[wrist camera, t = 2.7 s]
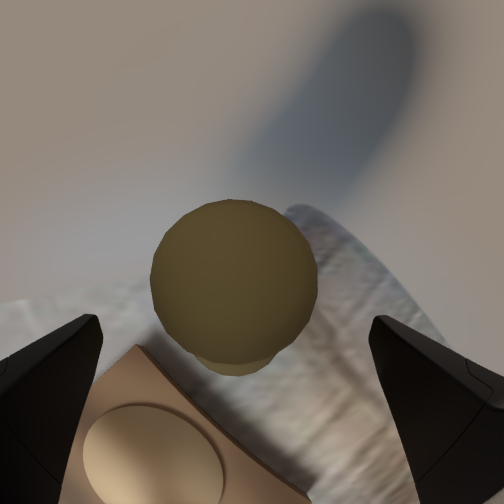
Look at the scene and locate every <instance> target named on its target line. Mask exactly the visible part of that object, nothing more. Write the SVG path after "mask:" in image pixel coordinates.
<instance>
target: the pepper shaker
mask: <svg viewBox="0 0 504 504" xmlns="http://www.w3.org/2000/svg"><path fill="white" fill-rule="evenodd" d="M150 285H151V292H152V298H153V304H154V310H155V312H156V314H157V316H158V317H159V319H160V321H161V323H162V325H163V327H164V329H165V330H166V332H167V333H168V334H169V335H170V336H171V337H172V338H173V339H174V340H175V341H176V342H177V343H178V344H179V345H181V346H182V347H183V348H184V349H185V350H186V351H187V352H190V353H192V354H194V355H195V357H196V358H197V359H198V360H199V361H200V362H201V363H202V364H203V365H205V366H206V367H207V368H208V369H210V370H212V371H215V372H217V373H219V374H222V375H228V376H243V375H247V374H251V373H255V372H257V371H258V370H260V369H261V368H263V367H265V366H266V365H268V364H269V363H270V361H271V360H272V359H273V358H274V357H275V355H276V354H277V353H278V352H279V351H281V350H282V349H284V348H285V347H287V346H288V345H290V344H291V343H293V342H294V340H295V339H296V338H297V336H298V335H299V334H300V332H301V331H302V330H303V329H304V327H305V326H306V325H307V323H308V322H309V320H310V317H311V314H312V311H313V308H314V305H315V302H316V299H317V265H316V262H315V259H314V256H313V253H312V250H311V248H310V245H309V243H308V241H307V240H306V239H305V237H304V236H303V235H302V233H301V232H300V231H299V229H298V228H297V227H296V226H295V224H294V223H292V222H291V221H289V220H288V219H287V218H285V217H284V216H283V215H281V214H280V213H278V212H277V211H276V210H274V209H272V208H269V207H267V206H264V205H261V204H258V203H256V202H253V201H246V200H232V199H228V200H222V201H217V202H212V203H208V204H205V205H203V206H201V207H199V208H197V209H195V210H193V211H191V212H190V213H188V214H186V215H184V216H183V217H182V218H181V219H180V220H179V221H177V222H176V223H175V224H174V225H173V226H172V227H171V228H170V229H169V230H168V231H167V232H166V233H165V235H164V237H163V239H162V241H161V243H160V244H159V246H158V248H157V250H156V252H155V254H154V258H153V263H152V269H151V274H150Z"/></svg>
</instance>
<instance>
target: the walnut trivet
mask: <svg viewBox="0 0 504 504" xmlns="http://www.w3.org/2000/svg"><path fill="white" fill-rule="evenodd" d="M59 503H60V504H311V503H312V502H311V500H310V499H309V497H308V496H307V494H306V493H304V492H303V491H301V490H300V489H298V488H297V487H295V486H294V485H293V484H291V483H290V482H288V481H287V480H286V479H284V478H283V477H281V476H280V475H279V474H277V473H276V472H275V471H273V470H272V469H271V468H270V467H268V466H267V465H266V464H264V463H263V462H262V461H261V460H259V459H258V458H257V457H256V456H254V455H253V454H252V453H251V452H249V451H248V450H247V449H246V448H245V447H243V446H242V445H241V444H240V443H239V442H238V441H236V440H235V439H234V438H233V437H232V436H231V435H230V434H228V433H227V432H226V431H225V430H224V429H223V428H222V427H221V426H220V425H218V424H217V423H216V422H215V421H214V420H213V419H212V418H211V417H210V416H209V415H208V414H207V413H206V412H205V411H203V410H202V409H201V408H200V407H199V406H198V405H197V404H196V403H195V402H194V401H193V400H192V399H191V398H190V397H189V396H188V395H187V394H186V393H185V392H184V391H183V390H182V389H181V388H180V386H179V385H178V384H177V383H176V382H175V381H174V380H173V379H172V378H171V377H170V376H169V375H168V374H167V373H166V372H165V370H164V369H163V368H162V367H161V366H160V365H159V364H158V363H157V362H156V360H155V359H154V358H153V357H152V356H151V355H150V354H149V352H148V351H147V350H146V349H145V348H144V347H143V346H140V345H137V344H136V345H135V346H133V347H132V348H131V349H130V350H129V351H128V352H127V353H126V354H125V355H124V356H123V357H122V358H121V359H120V360H118V361H117V362H116V363H115V364H114V365H113V366H112V367H111V368H110V369H109V370H108V371H107V372H106V373H105V374H104V375H102V376H101V377H100V378H99V379H98V380H97V381H96V382H95V383H94V384H93V385H92V386H91V388H90V391H89V394H88V397H87V400H86V403H85V406H84V409H83V412H82V415H81V418H80V421H79V425H78V428H77V431H76V435H75V438H74V441H73V445H72V449H71V452H70V456H69V460H68V464H67V468H66V472H65V476H64V480H63V484H62V490H61V494H60V499H59Z"/></svg>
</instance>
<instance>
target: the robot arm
mask: <svg viewBox="0 0 504 504" xmlns="http://www.w3.org/2000/svg"><path fill="white" fill-rule="evenodd" d="M102 344H103V333H102V330H101V326H100V323H99V319H98V317H97V316H96V315H94V314H84V315H82V316H80V317H78V318H77V319H75V320H73V321H71V322H69V323H67V324H66V325H64V326H62V327H60V328H58V329H56V330H55V331H53V332H51V333H49V334H47V335H46V336H44V337H42V338H40V339H38V340H37V341H35V342H33V343H31V344H30V345H28V346H26V347H24V348H22V349H21V350H19V351H17V352H15V353H14V354H12V355H10V356H9V357H6V358H5V359H3V360H1V361H0V504H59V499H60V494H61V490H62V484H63V480H64V476H65V472H66V468H67V464H68V460H69V456H70V452H71V449H72V445H73V441H74V438H75V435H76V431H77V428H78V425H79V421H80V418H81V415H82V412H83V409H84V406H85V403H86V400H87V397H88V394H89V391H90V388H91V385H92V382H93V379H94V376H95V372H96V367H97V363H98V359H99V355H100V351H101V348H102ZM369 345H370V349H371V352H372V356H373V360H374V363H375V367H376V371H377V375H378V378H379V381H380V384H381V386H382V389H383V392H384V394H385V397H386V400H387V402H388V405H389V408H390V410H391V413H392V416H393V419H394V422H395V424H396V427H397V430H398V433H399V436H400V439H401V442H402V445H403V448H404V451H405V454H406V457H407V460H408V463H409V466H410V469H411V473H412V476H413V479H414V483H415V487H416V490H417V493H418V497H419V500H420V504H504V377H503V376H501V375H499V374H497V373H495V372H492V371H490V370H488V369H486V368H484V367H482V366H480V365H478V364H476V363H475V362H473V361H471V360H469V359H467V358H465V357H463V356H461V355H460V354H458V353H456V352H454V351H452V350H451V349H449V348H447V347H445V346H443V345H441V344H439V343H438V342H436V341H434V340H432V339H430V338H428V337H427V336H425V335H423V334H421V333H419V332H417V331H415V330H414V329H412V328H410V327H408V326H406V325H404V324H402V323H401V322H399V321H397V320H395V319H393V318H391V317H389V316H387V315H379V316H376V317H375V318H374V319H373V323H372V326H371V330H370V333H369Z"/></svg>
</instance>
